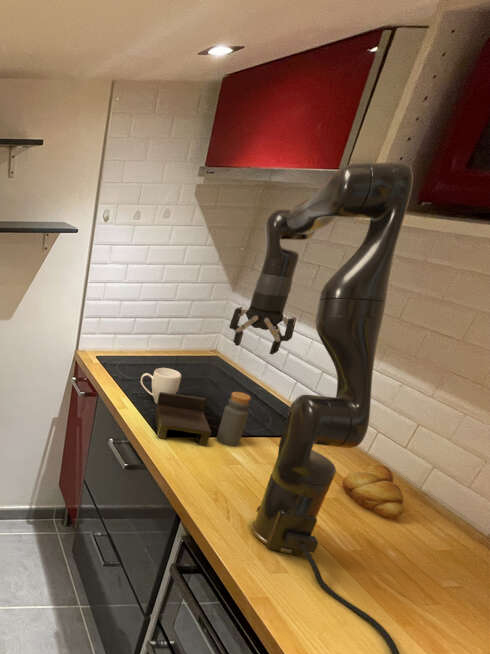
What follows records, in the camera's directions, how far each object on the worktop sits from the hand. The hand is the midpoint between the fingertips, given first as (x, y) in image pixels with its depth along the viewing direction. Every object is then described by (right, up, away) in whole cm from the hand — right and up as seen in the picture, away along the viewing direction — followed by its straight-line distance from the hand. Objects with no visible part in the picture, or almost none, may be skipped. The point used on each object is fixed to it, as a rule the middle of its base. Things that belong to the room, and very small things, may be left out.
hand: (254, 349), depth 122 cm
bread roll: (+17, -38, -16) cm, 44 cm away
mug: (-13, -17, +31) cm, 38 cm away
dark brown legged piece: (-14, -25, +13) cm, 31 cm away
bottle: (-2, -27, +9) cm, 28 cm away
